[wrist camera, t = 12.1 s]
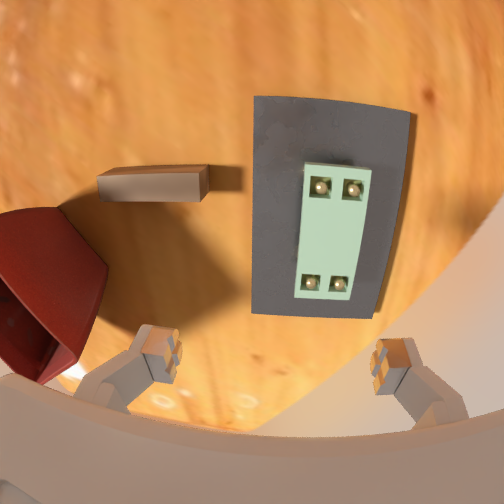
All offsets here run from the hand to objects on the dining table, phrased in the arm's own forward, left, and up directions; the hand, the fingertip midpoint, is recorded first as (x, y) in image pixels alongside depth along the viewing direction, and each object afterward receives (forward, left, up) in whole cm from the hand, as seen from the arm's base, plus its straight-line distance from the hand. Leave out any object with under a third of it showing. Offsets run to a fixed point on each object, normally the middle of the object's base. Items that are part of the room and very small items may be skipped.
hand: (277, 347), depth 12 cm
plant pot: (+11, -32, -24) cm, 42 cm away
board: (+3, +5, -19) cm, 20 cm away
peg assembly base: (+3, +5, -23) cm, 24 cm away
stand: (-1, -14, -23) cm, 27 cm away
